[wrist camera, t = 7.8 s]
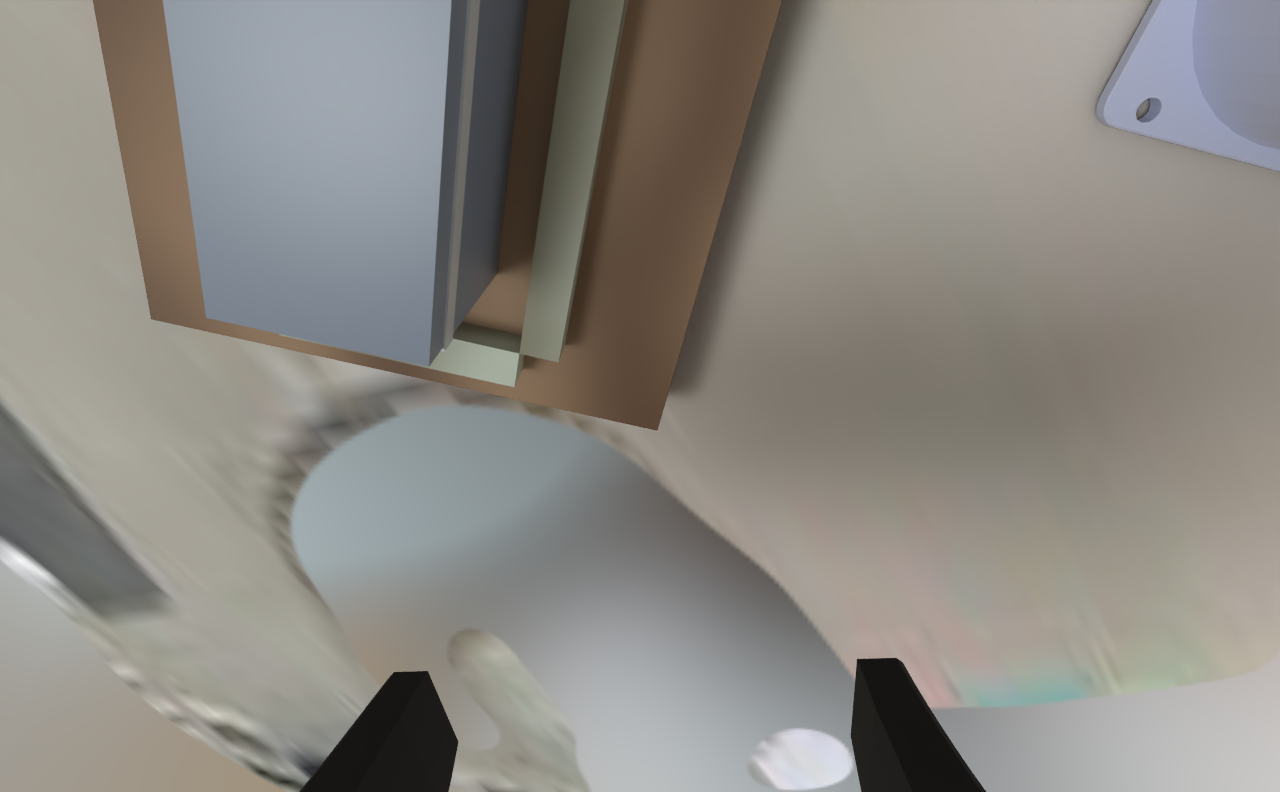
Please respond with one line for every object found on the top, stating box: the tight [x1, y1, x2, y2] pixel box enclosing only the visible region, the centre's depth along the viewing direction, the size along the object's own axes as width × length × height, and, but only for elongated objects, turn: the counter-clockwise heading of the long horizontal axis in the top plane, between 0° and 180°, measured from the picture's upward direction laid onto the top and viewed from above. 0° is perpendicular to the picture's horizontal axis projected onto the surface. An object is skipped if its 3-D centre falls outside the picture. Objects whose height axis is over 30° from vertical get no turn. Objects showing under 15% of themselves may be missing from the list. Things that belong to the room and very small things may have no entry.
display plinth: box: [93, 0, 782, 430], centre depth 15 cm, size 14×14×3 cm
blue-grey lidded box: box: [163, 0, 528, 367], centre depth 12 cm, size 4×8×5 cm, turn 168°
